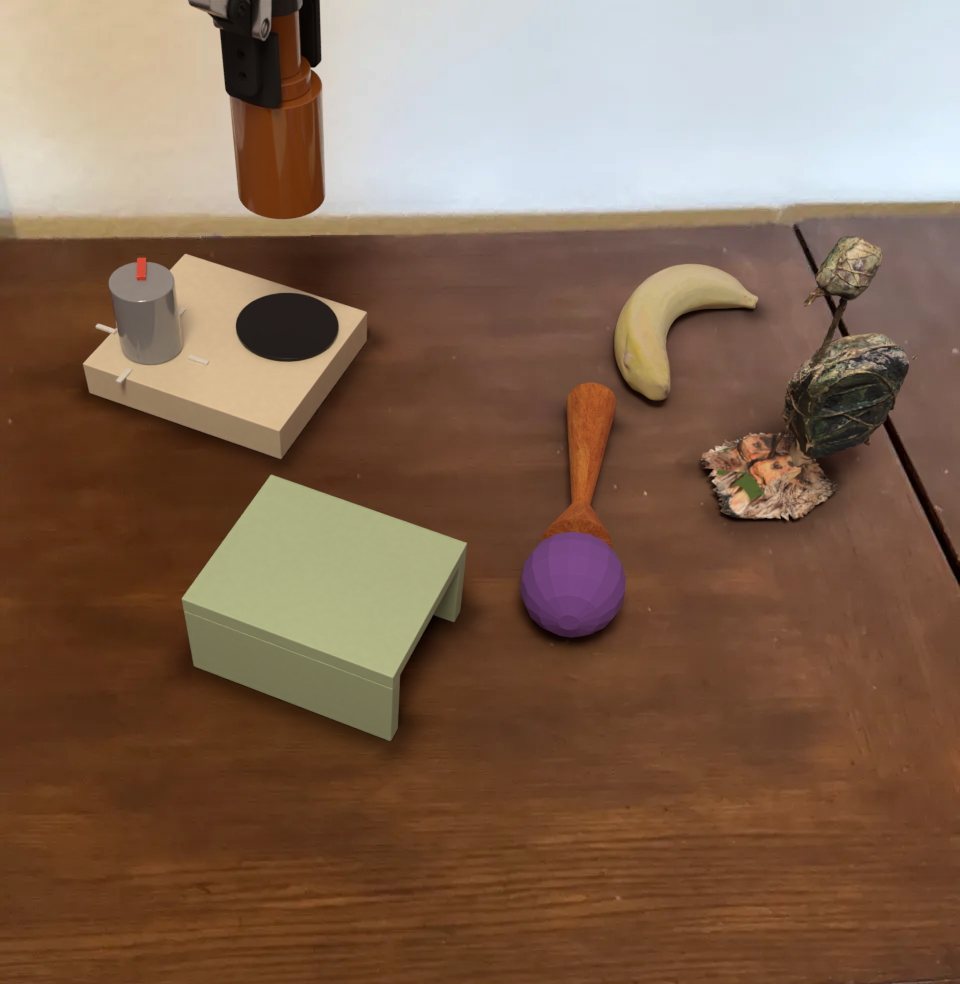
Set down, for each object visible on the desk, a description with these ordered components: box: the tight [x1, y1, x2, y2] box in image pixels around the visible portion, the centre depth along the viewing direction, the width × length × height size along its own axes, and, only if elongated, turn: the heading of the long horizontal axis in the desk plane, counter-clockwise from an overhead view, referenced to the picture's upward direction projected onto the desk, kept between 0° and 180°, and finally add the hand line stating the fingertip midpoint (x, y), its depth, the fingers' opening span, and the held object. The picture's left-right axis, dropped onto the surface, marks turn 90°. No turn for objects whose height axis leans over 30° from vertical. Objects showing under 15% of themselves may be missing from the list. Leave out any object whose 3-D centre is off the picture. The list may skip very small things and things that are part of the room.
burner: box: [236, 293, 339, 362], centre depth 84 cm, size 7×7×1 cm
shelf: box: [181, 474, 468, 742], centre depth 69 cm, size 12×10×6 cm
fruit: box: [613, 263, 759, 401], centre depth 89 cm, size 7×15×3 cm, turn 145°
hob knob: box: [107, 257, 183, 365], centre depth 80 cm, size 4×4×5 cm
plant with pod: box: [699, 235, 918, 522], centre depth 74 cm, size 8×11×20 cm
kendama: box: [519, 381, 627, 638], centre depth 76 cm, size 6×6×20 cm
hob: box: [82, 253, 368, 460], centre depth 84 cm, size 15×14×3 cm
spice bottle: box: [228, 0, 326, 220], centre depth 71 cm, size 5×5×13 cm
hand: (274, 76), depth 70 cm, fingers closed on spice bottle, 4 cm apart
